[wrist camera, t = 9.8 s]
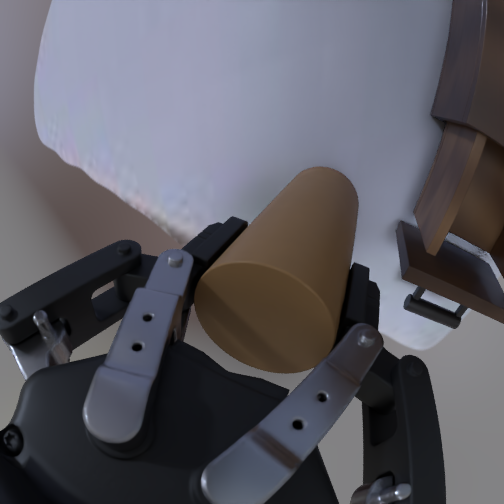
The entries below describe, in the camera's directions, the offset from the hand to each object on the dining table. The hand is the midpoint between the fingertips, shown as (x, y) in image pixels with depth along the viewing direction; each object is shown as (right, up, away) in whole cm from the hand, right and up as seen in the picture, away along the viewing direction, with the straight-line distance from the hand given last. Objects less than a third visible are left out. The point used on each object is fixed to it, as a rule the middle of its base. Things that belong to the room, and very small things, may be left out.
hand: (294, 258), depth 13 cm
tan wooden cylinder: (+3, +4, +6) cm, 8 cm away
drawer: (+17, +4, +7) cm, 19 cm away
